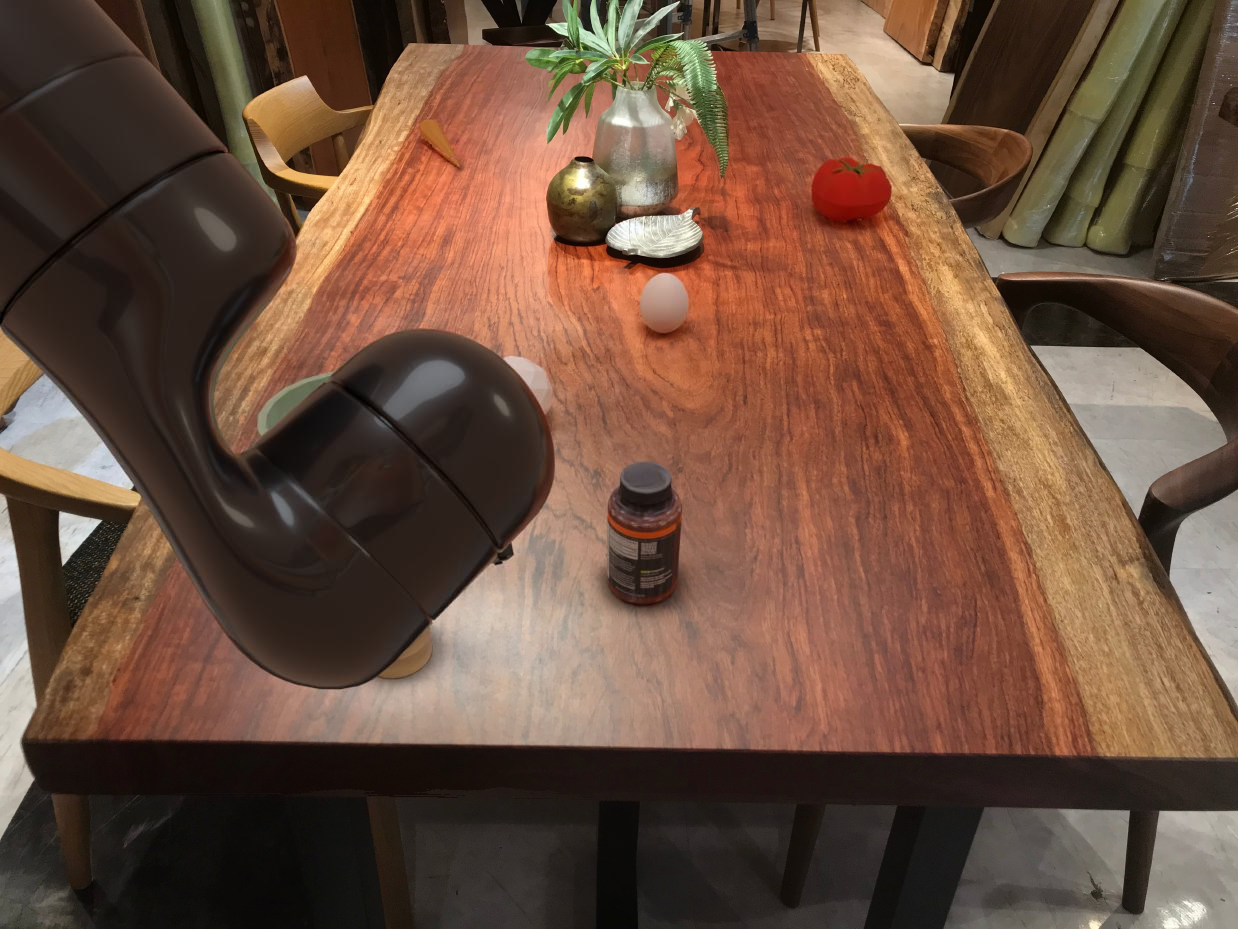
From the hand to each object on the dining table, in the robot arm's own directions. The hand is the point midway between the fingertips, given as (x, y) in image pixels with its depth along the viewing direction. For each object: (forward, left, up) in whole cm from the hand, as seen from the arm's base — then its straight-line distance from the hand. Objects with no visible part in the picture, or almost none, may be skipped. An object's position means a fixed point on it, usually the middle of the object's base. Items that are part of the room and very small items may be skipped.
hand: (384, 570), depth 57 cm
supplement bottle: (+12, +18, -13) cm, 25 cm away
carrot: (-60, +114, -13) cm, 129 cm away
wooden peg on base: (-3, +4, -13) cm, 14 cm away
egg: (0, +62, -13) cm, 64 cm away
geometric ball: (-8, +36, -13) cm, 39 cm away
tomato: (+16, +111, -13) cm, 113 cm away
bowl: (-20, +24, -13) cm, 34 cm away
